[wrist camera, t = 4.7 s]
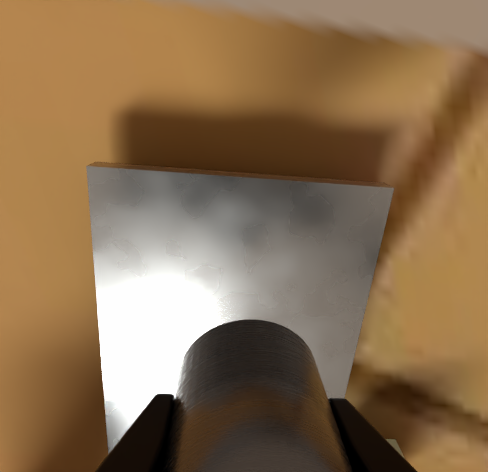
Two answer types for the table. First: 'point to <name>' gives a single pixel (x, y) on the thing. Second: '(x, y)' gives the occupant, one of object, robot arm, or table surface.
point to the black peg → (252, 405)
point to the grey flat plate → (224, 268)
